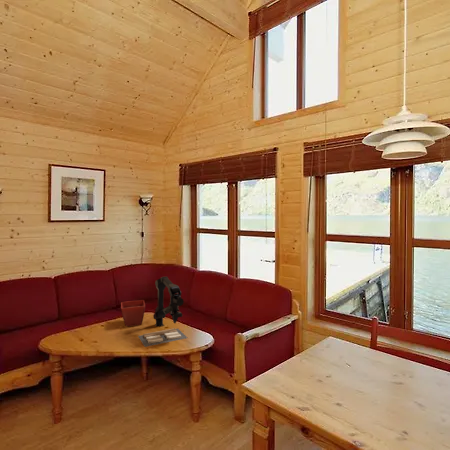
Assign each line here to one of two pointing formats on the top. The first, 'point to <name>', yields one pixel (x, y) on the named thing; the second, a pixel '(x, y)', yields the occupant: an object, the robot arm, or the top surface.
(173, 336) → the beige flat square block
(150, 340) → the light beige plank
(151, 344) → the underlay
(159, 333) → the light brown plank
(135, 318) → the plant pot
